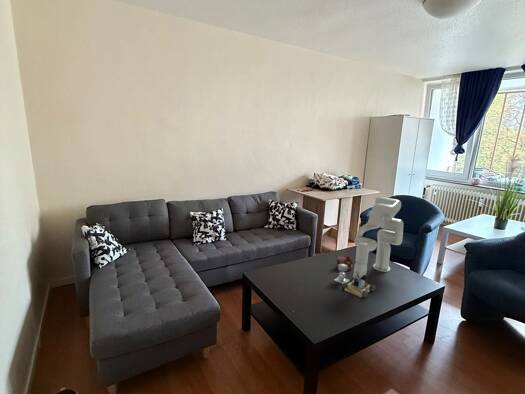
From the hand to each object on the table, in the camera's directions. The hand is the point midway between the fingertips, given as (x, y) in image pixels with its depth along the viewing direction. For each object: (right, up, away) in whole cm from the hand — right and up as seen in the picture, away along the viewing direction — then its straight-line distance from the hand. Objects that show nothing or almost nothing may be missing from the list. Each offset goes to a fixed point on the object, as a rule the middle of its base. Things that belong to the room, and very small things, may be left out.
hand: (359, 283), depth 186 cm
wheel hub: (-8, +7, +10) cm, 15 cm away
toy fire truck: (-1, +2, +31) cm, 31 cm away
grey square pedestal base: (-9, -2, +12) cm, 15 cm away
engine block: (0, -3, +1) cm, 3 cm away
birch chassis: (0, -4, +1) cm, 4 cm away
